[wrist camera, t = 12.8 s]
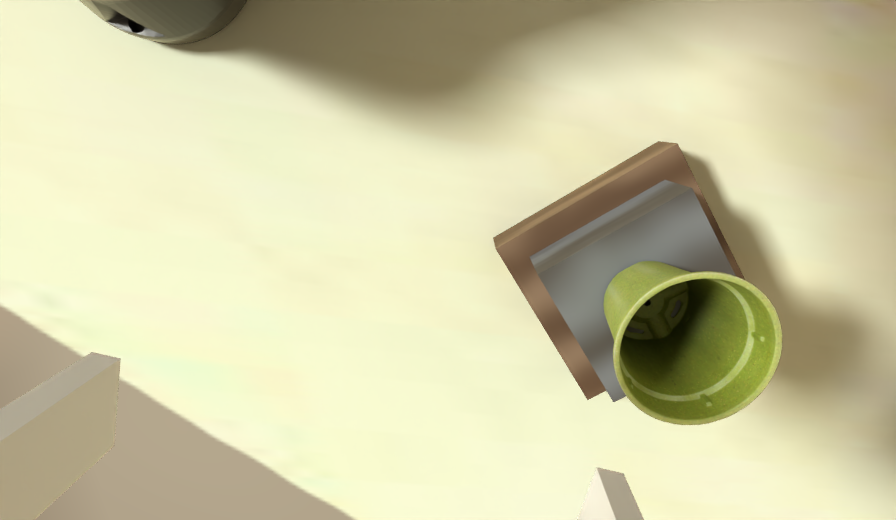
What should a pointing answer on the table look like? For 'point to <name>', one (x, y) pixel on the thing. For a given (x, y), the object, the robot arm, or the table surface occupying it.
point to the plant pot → (691, 341)
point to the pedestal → (610, 252)
